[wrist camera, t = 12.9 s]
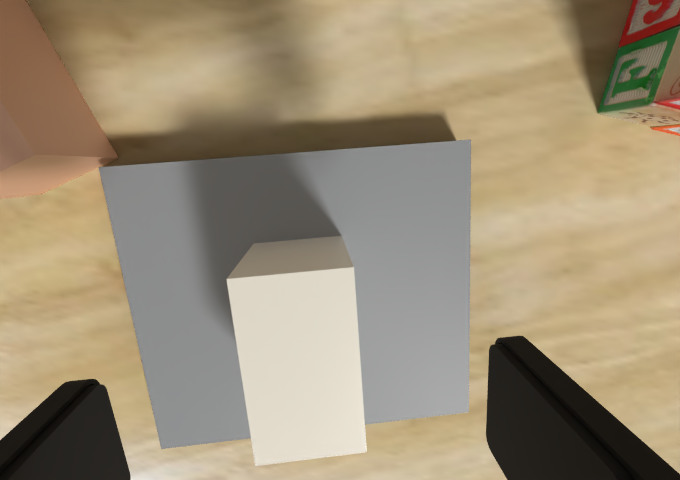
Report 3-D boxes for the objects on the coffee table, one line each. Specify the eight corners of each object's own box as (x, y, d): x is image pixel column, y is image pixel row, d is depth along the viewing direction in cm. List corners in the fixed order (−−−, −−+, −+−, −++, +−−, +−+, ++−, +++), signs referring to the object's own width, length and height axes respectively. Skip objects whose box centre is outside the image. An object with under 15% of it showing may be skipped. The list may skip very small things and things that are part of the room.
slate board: (118, 167, 16) (98, 167, 14) (457, 141, 17) (471, 139, 15) (173, 427, 19) (161, 449, 18) (457, 393, 20) (468, 412, 18)
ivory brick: (253, 243, 16) (226, 279, 11) (341, 235, 16) (353, 267, 11) (271, 380, 17) (255, 466, 12) (351, 371, 17) (366, 452, 12)
